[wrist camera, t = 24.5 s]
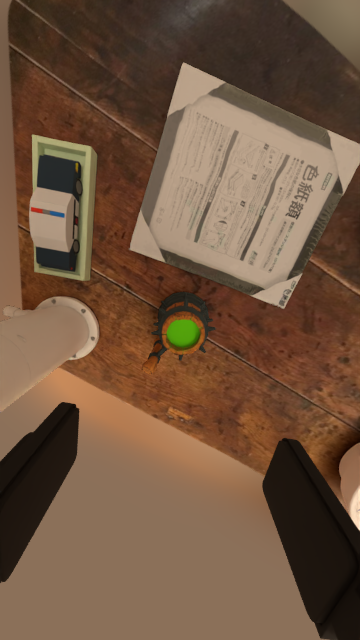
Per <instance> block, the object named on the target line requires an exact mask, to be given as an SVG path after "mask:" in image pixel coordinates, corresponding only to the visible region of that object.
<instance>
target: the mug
mask: <svg viewBox="0 0 360 640" xmlns="http://www.w3.org/2000/svg"><path fill="white" fill-rule="evenodd" d="M161 303H162V305H161V306H160V308H159V312H158V322H157V323H154V325H155V326H158V330H157V331H154V332H151V334H153V335H159V337H160V338H156V339H155V340H154V346H153V347H154V348H153V350H152V352H151V353H150V355H149V357H148V360H147V361H146V362H145V363H144V364H143V365H142V370H143V371H144V372H146V373H147V374H152V373H153V372H154V371H155V370H156V367H157V364H158V363H159V361H160V356H161V355H162V354H163V353H164V352H165V351H166V350H167V349H168V350H169V351H171V352H172V353H174V354H175V355H179V360H182V357H183V355H186V354H191V353H193V352H196V351H197V350H198V349H199V350H201V351H202V352H204V353H205V352H206V351H205V349H204V348H203V345H204V343H205V341H206V339H207V336H208V331H212V330H215V327H209V326H208V325H207V324H208V322H211V321H213V319H210V318H209V315H208V309H207V307H206V305H205V301H202V299H200V298H199V297H197V296H196V295H195V294H193V293H188V292H179V293H174V294H172V295H171V296H169V297H168V298H166V299H165V300H164V301H161Z"/></svg>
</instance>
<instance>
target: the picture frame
mask: <svg viewBox="0 0 360 640" xmlns="http://www.w3.org/2000/svg"><path fill="white" fill-rule="evenodd" d="M359 163H360V144H358V143H356V142H353V141H351V140H349V139H347V138H344V137H342V136H340V135H338V134H335V133H333V132H331V131H329V130H326V129H324V128H322V127H320V126H318V125H315V124H313V123H311V122H309V121H307V120H305V119H302V118H300V117H298V116H296V115H294V114H292V113H290V112H287V111H285V110H283V109H281V108H279V107H276V106H275V105H272V104H270V103H268V102H266V101H263V100H262V99H260V98H257V97H255V96H253V95H251V94H248V93H247V92H245V91H242V90H241V89H239V88H236V87H235V86H232V85H230V84H228V83H226V82H224V81H222V80H220V79H217V78H216V77H214V76H211V75H208V74H207V73H205V72H203V71H201V70H199V69H196V68H194V67H192V66H190V65H188V64H186V63H183V64H182V67H181V70H180V74H179V77H178V80H177V84H176V87H175V91H174V94H173V97H172V101H171V104H170V108H169V111H168V115H167V120H166V123H165V127H164V131H163V134H162V137H161V141H160V145H159V148H158V152H157V155H156V159H155V162H154V165H153V169H152V172H151V175H150V179H149V182H148V185H147V189H146V192H145V196H144V199H143V203H142V207H141V209H140V213H139V217H138V219H137V221H138V222H137V224H136V227H135V231H134V234H133V235H132V241H131V244H130V246H131V247H130V248H129V249H130V250H132V251H135V252H137V253H140V254H143V255H145V256H148V257H151V258H153V259H156V260H159V261H162V262H165V263H167V264H170V265H172V266H175V267H178V268H180V269H183V270H186V271H189V272H191V273H194V274H197V275H199V276H202V277H205V278H207V279H210V280H213V281H215V282H218V283H220V284H223V285H226V286H228V287H231V288H233V289H236V290H238V291H241V292H243V293H246V294H248V295H250V296H253V297H255V298H257V299H260V300H262V301H265V302H269V303H271V304H272V303H273V304H275V305H278V307H279V306H280V307H281V308H283V309H284V307H285V306H286V304H287V302H288V300H289V298H290V296H291V294H292V292H293V290H294V288H295V286H296V285H297V283H298V280H299V279H300V277H301V275H302V272H303V270H304V268H305V266H306V264H307V262H308V260H309V258H310V256H311V254H312V252H313V250H314V248H315V247H316V245H317V243H318V241H319V239H320V237H321V235H322V233H323V231H324V229H325V227H326V225H327V223H328V221H329V220H330V218H331V216H332V214H333V212H334V210H335V208H336V206H337V204H338V202H339V200H340V198H341V196H343V194H344V192H345V190H346V188H347V186H348V184H349V183H350V181H351V178H352V177H353V174H354V172H355V170H356V168H357V167H358V165H359ZM273 304H272V305H273Z"/></svg>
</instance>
